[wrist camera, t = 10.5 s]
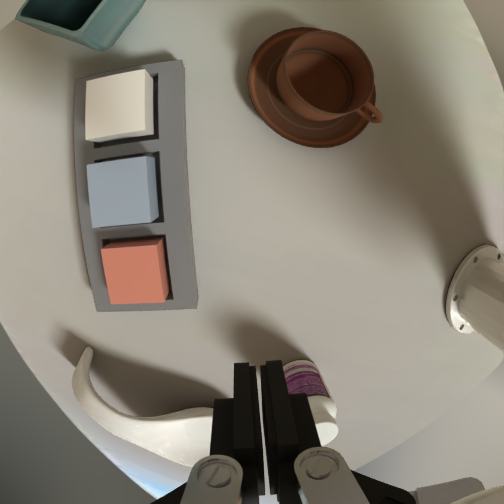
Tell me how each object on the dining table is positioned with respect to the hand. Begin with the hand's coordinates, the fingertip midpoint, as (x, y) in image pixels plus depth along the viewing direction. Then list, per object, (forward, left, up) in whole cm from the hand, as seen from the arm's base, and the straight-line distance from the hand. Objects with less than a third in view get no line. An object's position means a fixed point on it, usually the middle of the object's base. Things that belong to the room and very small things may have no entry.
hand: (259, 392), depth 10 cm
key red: (+9, 0, -18) cm, 20 cm away
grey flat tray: (+9, -7, -19) cm, 22 cm away
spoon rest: (+10, +19, -20) cm, 29 cm away
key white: (+9, -14, -17) cm, 24 cm away
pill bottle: (-6, +15, -19) cm, 25 cm away
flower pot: (+12, -25, -19) cm, 34 cm away
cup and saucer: (-8, -15, -20) cm, 26 cm away
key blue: (+9, -7, -17) cm, 20 cm away
